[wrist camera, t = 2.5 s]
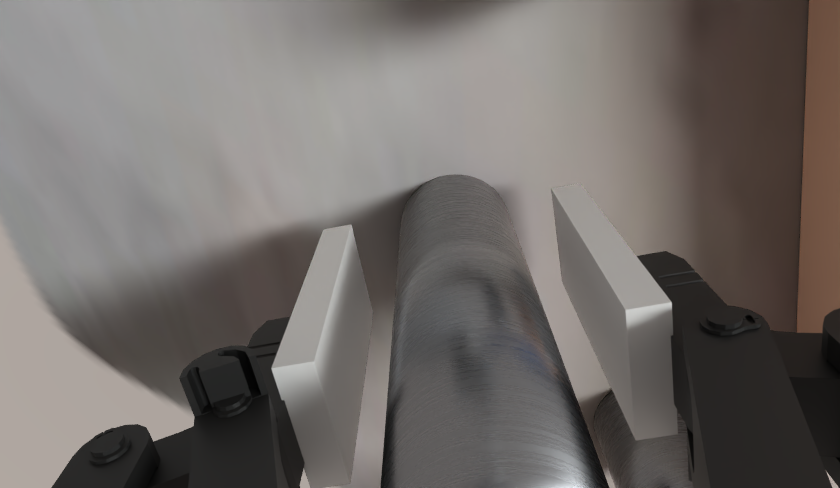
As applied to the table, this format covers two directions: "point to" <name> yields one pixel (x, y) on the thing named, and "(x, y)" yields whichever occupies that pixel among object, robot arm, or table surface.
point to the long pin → (476, 356)
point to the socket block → (820, 171)
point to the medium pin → (640, 451)
